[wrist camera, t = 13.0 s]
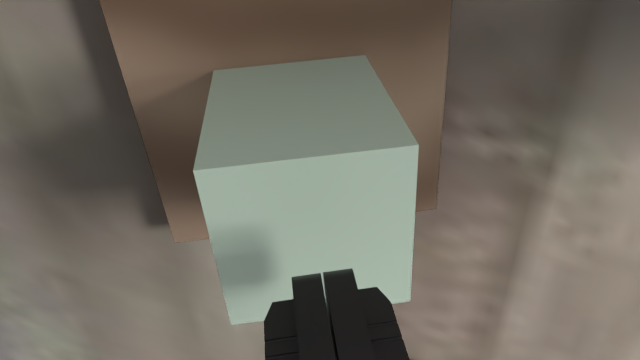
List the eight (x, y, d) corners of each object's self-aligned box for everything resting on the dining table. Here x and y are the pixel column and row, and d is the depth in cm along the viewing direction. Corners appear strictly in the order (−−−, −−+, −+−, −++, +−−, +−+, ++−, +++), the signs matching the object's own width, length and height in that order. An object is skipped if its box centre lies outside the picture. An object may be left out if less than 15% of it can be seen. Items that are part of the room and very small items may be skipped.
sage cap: (213, 70, 17) (193, 170, 12) (365, 54, 18) (418, 145, 12) (237, 195, 21) (231, 325, 15) (366, 180, 21) (410, 301, 15)
